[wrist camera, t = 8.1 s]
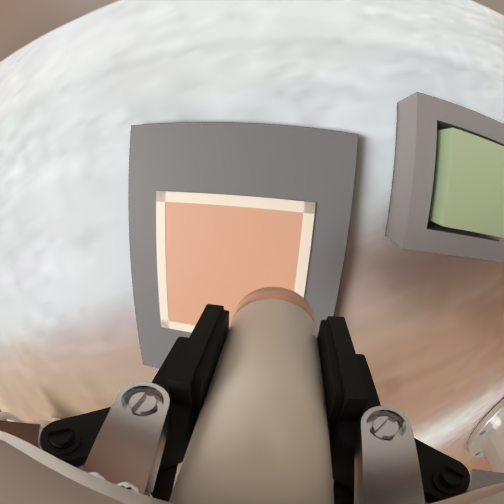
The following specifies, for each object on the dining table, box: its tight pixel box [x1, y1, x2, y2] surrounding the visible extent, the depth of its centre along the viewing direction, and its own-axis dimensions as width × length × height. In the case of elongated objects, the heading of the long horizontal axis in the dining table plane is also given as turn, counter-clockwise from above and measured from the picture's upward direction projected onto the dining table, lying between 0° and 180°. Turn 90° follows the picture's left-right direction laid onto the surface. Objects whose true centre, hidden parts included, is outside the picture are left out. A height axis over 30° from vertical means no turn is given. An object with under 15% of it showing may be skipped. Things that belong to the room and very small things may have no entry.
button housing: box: [385, 92, 504, 263], centre depth 13 cm, size 8×8×3 cm
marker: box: [169, 287, 334, 504], centre depth 6 cm, size 3×3×10 cm
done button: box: [428, 128, 504, 238], centre depth 12 cm, size 5×5×2 cm
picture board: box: [129, 122, 358, 368], centre depth 17 cm, size 13×17×1 cm
